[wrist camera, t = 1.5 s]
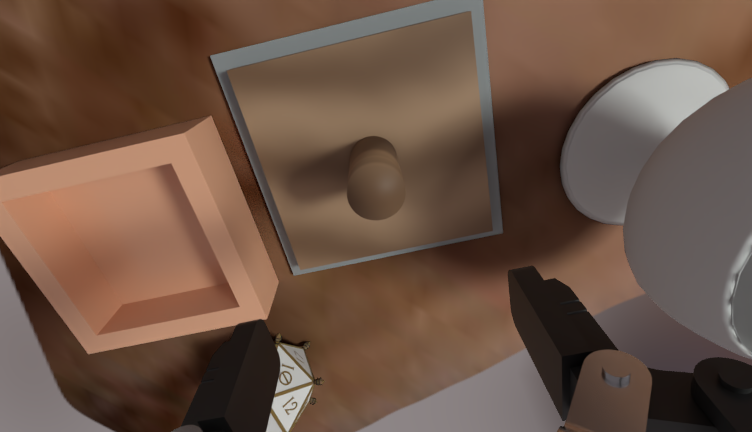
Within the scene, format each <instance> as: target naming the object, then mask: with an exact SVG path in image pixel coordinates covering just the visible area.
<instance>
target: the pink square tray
mask: <svg viewBox="0 0 752 432" xmlns="http://www.w3.org/2000/svg"><path fill="white" fill-rule="evenodd" d="M0 236H1V238H2V239H3V240H4V242H5V243H6V244H7V246H8V247H9V248H10V250H11V251H12V253H13V254H14V255H15V257H16V258H17V259H18V261H19V262H20V263H21V265H22V266H23V267H24V269H25V270H26V271H27V273H28V274H29V275H30V277H31V278H32V279H33V281H34V282H35V283H36V285H37V286H38V287H39V289H40V290H41V291H42V293H43V294H44V295H45V297H46V298H47V299H48V301H49V302H50V303H51V305H52V306H53V307H54V309H55V310H56V311H57V313H58V314H59V315H60V317H61V318H62V319H63V321H64V322H65V323H66V325H67V326H68V327H69V329H70V330H71V331H72V333H73V334H74V335H75V337H76V338H77V339H78V341H79V342H80V343H81V345H82V346H83V347H84V349H85V350H86V351H87V353H88V354H91V353H96V352H101V351H106V350H111V349H117V348H122V347H127V346H132V345H137V344H142V343H147V342H152V341H157V340H162V339H167V338H173V337H178V336H183V335H188V334H193V333H198V332H203V331H208V330H213V329H218V328H223V327H229V326H234V325H237V324H238V323H243V322H248V321H253V320H258V319H262V320H264V319H267V318H268V315H269V312H270V308H271V305H272V302H273V299H274V296H275V293H276V289H277V286H278V283H279V281H278V279H277V276H276V274H275V271H274V269H273V266H272V264H271V261H270V259H269V256H268V254H267V252H266V249H265V247H264V244H263V242H262V239H261V237H260V234H259V232H258V229H257V227H256V224H255V222H254V220H253V217H252V215H251V212H250V210H249V207H248V205H247V202H246V200H245V197H244V195H243V192H242V190H241V188H240V185H239V183H238V180H237V178H236V175H235V173H234V170H233V168H232V165H231V163H230V160H229V158H228V156H227V153H226V151H225V148H224V146H223V143H222V141H221V138H220V136H219V133H218V131H217V128H216V126H215V124H214V121H213V119H212V116H207V117H203V118H199V119H194V120H190V121H186V122H182V123H177V124H173V125H169V126H165V127H160V128H156V129H152V130H148V131H144V132H139V133H135V134H131V135H127V136H122V137H118V138H114V139H110V140H105V141H101V142H97V143H93V144H88V145H84V146H80V147H76V148H72V149H67V150H63V151H59V152H55V153H50V154H46V155H42V156H38V157H33V158H29V159H25V160H21V161H18V162H16V163H13V164H11V165H9V166H6V167H4V168H1V169H0Z"/></svg>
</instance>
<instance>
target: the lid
mask: <svg viewBox="0 0 752 432" xmlns="http://www.w3.org/2000/svg"><path fill="white" fill-rule="evenodd" d="M227 73H228V76H229V79H230V82H231V84H232V87H233V90H234V92H235V95H236V98H237V101H238V103H239V106H240V109H241V111H242V114H243V117H244V119H245V122H246V125H247V128H248V130H249V133H250V136H251V138H252V141H253V144H254V146H255V149H256V152H257V155H258V157H259V160H260V163H261V165H262V168H263V171H264V173H265V176H266V179H267V182H268V184H269V187H270V190H271V192H272V195H273V198H274V200H275V203H276V206H277V209H278V211H279V214H280V217H281V219H282V222H283V225H284V227H285V230H286V233H287V236H288V238H289V241H290V244H291V246H292V249H293V252H294V254H295V257H296V260H297V263H298V265H299V268H300V270H304V269H309V268H314V267H319V266H324V265H329V264H333V263H338V262H343V261H348V260H353V259H358V258H363V257H368V256H373V255H378V254H382V253H387V252H392V251H397V250H402V249H407V248H412V247H417V246H422V245H427V244H431V243H436V242H441V241H446V240H451V239H456V238H461V237H466V236H471V235H476V234H480V233H485V232H490V231H493V226H492V216H491V206H490V196H489V186H488V176H487V166H486V156H485V146H484V136H483V126H482V115H481V105H480V95H479V85H478V75H477V65H476V55H475V45H474V35H473V25H472V15H471V11H466V12H462V13H458V14H454V15H450V16H446V17H442V18H438V19H433V20H429V21H425V22H421V23H417V24H413V25H409V26H405V27H401V28H397V29H392V30H388V31H384V32H380V33H376V34H372V35H368V36H364V37H360V38H356V39H351V40H347V41H343V42H339V43H335V44H331V45H327V46H323V47H319V48H315V49H310V50H306V51H302V52H298V53H294V54H290V55H286V56H282V57H278V58H274V59H269V60H265V61H261V62H257V63H253V64H249V65H245V66H241V67H237V68H233V69H230V70H227Z"/></svg>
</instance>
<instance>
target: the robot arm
mask: <svg viewBox="0 0 752 432" xmlns="http://www.w3.org/2000/svg"><path fill="white" fill-rule="evenodd" d="M508 282H509V294H510V305H511V312H512V317H513V320H514V323H515V326H516V328H517V330H518V332H519V334H520V336H521V338H522V340H523V342H524V344H525V346H526V348H527V350H528V352H529V354H530V356H531V358H532V360H533V362H534V364H535V366H536V368H537V370H538V372H539V374H540V376H541V378H542V380H543V383H544V385H545V387H546V389H547V391H548V392H549V394H550V396H551V398H552V400H553V402H554V405H555V406H556V409H557V411H558V413H559V415H560V416H561V418H562V421H565V420H566V422H565V425H564V427H562V426H560V427H559V429H558V431H557V432H752V366H751V365H749V364H746V363H744V362H741V361H738V360H734V359H729V358H719V357H717V358H708V359H705V360H702V361H700V362H699V363H698V364H697V365H696V366H695V369H694V373H685V372H674V371H673V372H672V371H662V370H655V369H651V368H647V367H646V366H645V365H644V364H643V363H642V362H641V361H640V360H638V359H637V358H635V357H633V356H632V355H629V354H627V353H624V352H621V351H619V350H618V349H617V348H616V347H615V345H614V344H613V343H612V341H611V340H610V339H609V337H608V336H607V335H606V334H605V332H604V331H603V330H602V329H601V327H600V326H599V325H598V323H597V322H596V321H595V319H594V318H593V317H592V316H591V314H590V313H589V312H587V309H586V308H585V306H584V305H583V304H582V303H581V302H580V301H579V299H578V297H577V296H576V295H575V294H574V292H573V291H572V290H571V288H570V287H568V286H567V285H565V284H563V283H562V282H560V281H558V280H557V279H555V278H554V279H549V280H543V278H542V277H541V275H540V274H539V273H538V271H537V270H536V268H535V267H534V266H528V267H523V268H518V269H513V270H509V271H508ZM206 370H207V372H205V374H204V376H203V378H202V380H201V382H202V383H201V384H200V385H199V387H198V389H197V392H196V394H195V396H194V398H193V401H192V403H191V405H190V407H189V410H188V412H187V414H186V416H185V419H184V421H183V423H182V425H181V427H179V428H177V429H175V430H173V431H172V432H266V430H267V426H268V421H269V417H270V413H271V408H272V404H273V400H274V396H275V391H276V387H277V383H278V378H279V374H280V357H279V353H278V351H277V348H276V346H275V344H274V342H273V339H272V337H271V335H270V333H269V331H268V328H267V326H266V324H265V322H264V321H263V320H262V319H258V320H253V321H248V322H243V323H238V324H237V325H236V327H235V330H234V332H233V335H232V337H231V339H230V341H228V342H224V343H223V344H222V345H221V346H220V348H219V349H218V350H217V351H216V352H215V353H214V355H213V356H212V358H211V360H210V363H209V365H208V367H207V369H206Z"/></svg>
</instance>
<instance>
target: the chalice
mask: <svg viewBox="0 0 752 432" xmlns="http://www.w3.org/2000/svg"><path fill="white" fill-rule="evenodd" d="M560 172H561V181H562V185H563V188H564V190H565V192H566V195H567V197H568V199H569V200H570V201H571V203H572V204H573V205H574V206H575V208H576V209H577V210H578V211H580V212H581V213H583V214H584V215H585V216H587V217H588V218H590V219H593V220H596V221H598V222H601V223H604V224H612V225H623V236H624V248H625V253H626V256H627V260H628V263H629V265H630V268H631V270H632V272H633V274H634V276H635V279H636V281H637V283H638V285H639V286H640V287H641V288H642V289H643V290H644V291H645V292H646V293H647V295H648V296H649V297H650V298H651V299H652V300H653V301H654V302H655V303H656V304H657V305H658V306H659V307H660V308H661V309H662V310H663V311H664V312H665V313H666V314H668V315H669V316H671V317H672V318H673V319H675V320H676V321H677V322H679V323H680V324H682V325H684V326H685V327H687V328H689V329H690V330H692V331H693V332H695V333H697V334H699V335H701V336H702V337H704V338H706V339H708V340H710V341H712V342H714V343H716V344H717V345H720V346H722V347H724V348H726V349H728V350H730V351H732V352H734V353H736V354H738V355H741V356H744V357H747V358H750V359H752V78H750V79H747V80H746V81H744V82H742V83H740V84H738V85H736V86H734V87H733V88H731V89H729V87H728V85H727V83H726V81H725V80H724V79H723V78H722V77H721V76H720V75H719V74H718V73H717V72H716V71H715V70H714V69H712V68H710V67H708V66H706V65H704V64H702V63H700V62H698V61H693V60H686V59H680V58H673V59H663V60H655V61H652V62H649V63H646V64H642V65H639V66H636V67H634V68H632V69H630V70H628V71H626V72H624V73H623V74H621V75H619V76H617V77H615V78H614V79H612V80H611V81H610V82H609V83H607V84H606V85H605V86H604V87H602V88H601V89H600V90H599V91H598V92H596V93H595V94H594V95H593V96H592V98H591V99H590V100H589V101H588V102H587V103H586V105H585V106H584V107H583V108H582V109H581V110H580V112H579V113H578V115H577V117H576V119H575V120H574V122H573V124H572V125H571V127H570V129H569V131H568V134H567V136H566V139H565V142H564V145H563V148H562V154H561V162H560Z"/></svg>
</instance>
